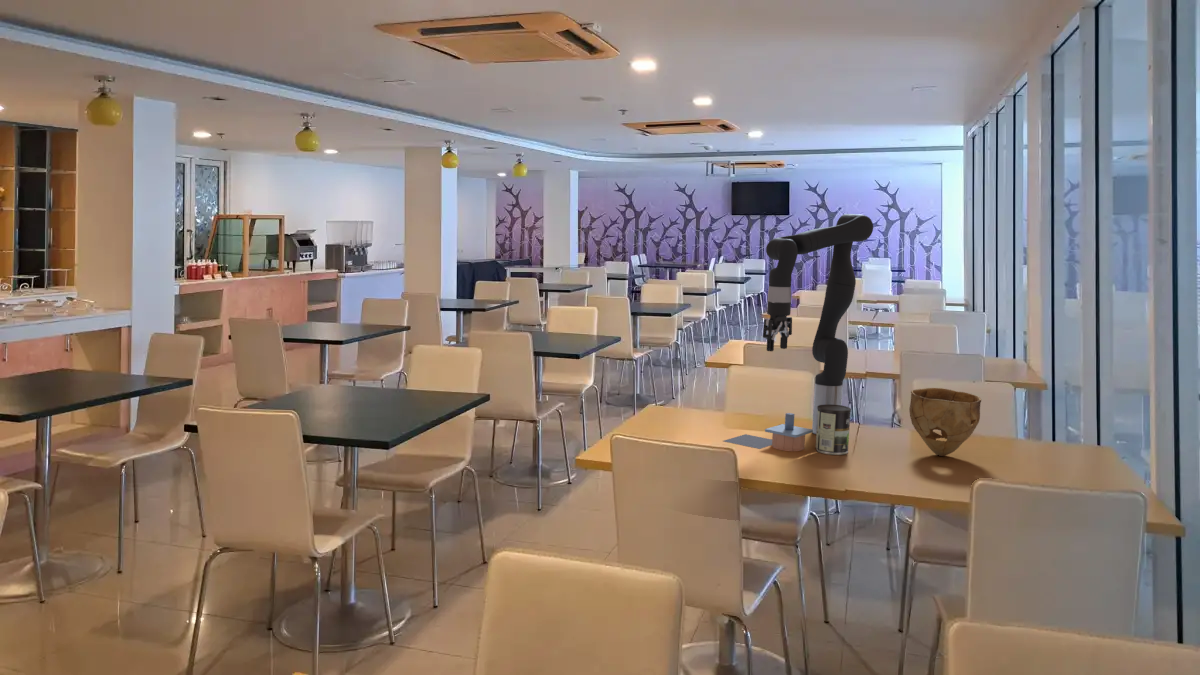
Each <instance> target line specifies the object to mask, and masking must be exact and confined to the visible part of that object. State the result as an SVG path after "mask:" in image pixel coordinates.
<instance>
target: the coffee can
mask: <svg viewBox="0 0 1200 675" xmlns="http://www.w3.org/2000/svg"><path fill="white" fill-rule="evenodd" d="M817 409H818V414H817V432H816V434H815V435H816V436H815V449H816V452H817V453H821V454H825V455H831V456H834V455H836V456H841V455H842V456H843V455H846V454H848V453H849V439H850V424H851V422H850V421H851V411H852V408H851V407H849V406H845V405H843V404H841V405H831V404H826V405H819V406H817Z"/></svg>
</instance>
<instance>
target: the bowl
mask: <svg viewBox="0 0 1200 675" xmlns="http://www.w3.org/2000/svg"><path fill="white" fill-rule="evenodd" d="M910 393H911V394H910V404H909V411H908V412H909V418H910V420H911V424H912V426H913V428H914V430H915V431H916V433H917V434H918V435H919V436H920V438H921V439H922V441H923V442H924V443H925V445H926V446H927V447H928V449H929V450H930V451H931V452H932V453H934V454H935V455H937V456H938V455H939V456H938V457H944V456H948V455H950V454H952V453H954V452H955V451H957V450H958V449H959V448H960V446H962V444H963V443H964V442H965V441H967V440H968V439H969V438H970V437H971V436H972V434H973V433H974V432H975V429H976V428H977V426H978V424H979V423H980V419H981V402H982V398H981V397H980V396H979V395H976V394H972V393H969V392H964V391H957V390H952V389H948V388H943V387H925V388H917V389H912V390H910ZM934 430H935V431H936V430H938V431H940V433H941V434H939V433H937V432H935V431H934ZM939 439H945V440H939Z"/></svg>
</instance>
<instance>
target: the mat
mask: <svg viewBox="0 0 1200 675" xmlns="http://www.w3.org/2000/svg"><path fill="white" fill-rule="evenodd" d="M723 442H725V443H729V444H734V445H739V446H743V447H748V448H752V449H757V450H762V449H765V448H767V447H772V439H771V438H766V437H760V436H757V435H751V434H747V433H745V434H742V435H738V436H735V437H732V438H728V439H724V440H723Z"/></svg>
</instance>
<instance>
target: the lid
mask: <svg viewBox="0 0 1200 675" xmlns="http://www.w3.org/2000/svg"><path fill="white" fill-rule="evenodd" d="M795 415H796V414H795V413H791V412H787V413H786V412H785V416H784V419H785V420H784V423H781V424H778V425H774V426H770V427H768V428H765V429H764V432H765V433H769V434H773V433H774V434H780V435H785V436H790V437H795V438H796V437H799V436H803V435H805V436H806V435H808V434H813V433H812V432H813V430H812V428H808V427H807V428H806V427H803V426H802V427H801V426H796V425H795Z"/></svg>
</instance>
